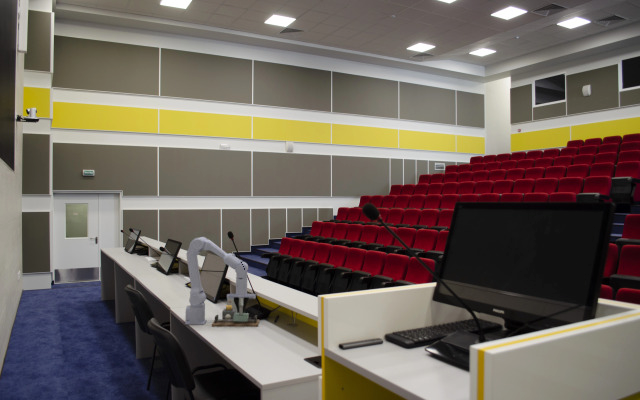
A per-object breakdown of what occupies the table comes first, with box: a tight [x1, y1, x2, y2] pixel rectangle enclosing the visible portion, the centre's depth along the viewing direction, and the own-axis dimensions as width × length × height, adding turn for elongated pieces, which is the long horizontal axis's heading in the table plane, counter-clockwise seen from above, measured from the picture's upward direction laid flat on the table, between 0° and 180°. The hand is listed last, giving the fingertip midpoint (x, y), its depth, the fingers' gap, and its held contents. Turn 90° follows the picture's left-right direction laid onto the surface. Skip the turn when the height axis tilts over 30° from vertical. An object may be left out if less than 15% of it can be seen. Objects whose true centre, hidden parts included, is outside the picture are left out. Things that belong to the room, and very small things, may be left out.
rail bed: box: [211, 314, 260, 328], centre depth 234 cm, size 23×10×4 cm, turn 93°
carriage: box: [233, 305, 250, 321], centre depth 234 cm, size 7×7×7 cm
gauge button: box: [225, 304, 232, 310], centre depth 243 cm, size 3×3×2 cm
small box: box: [226, 297, 244, 313], centre depth 254 cm, size 8×6×10 cm
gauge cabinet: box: [221, 308, 235, 319], centre depth 243 cm, size 6×6×5 cm
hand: (241, 312), depth 234 cm, fingers closed on carriage, 2 cm apart
